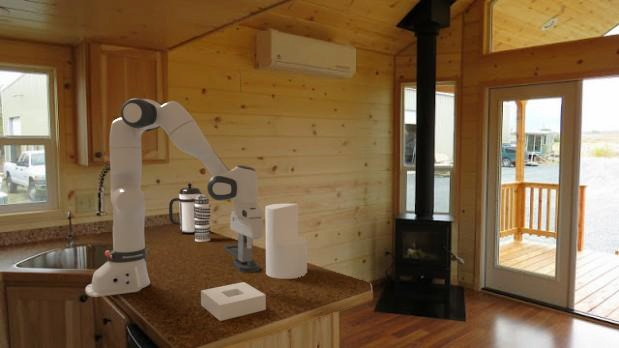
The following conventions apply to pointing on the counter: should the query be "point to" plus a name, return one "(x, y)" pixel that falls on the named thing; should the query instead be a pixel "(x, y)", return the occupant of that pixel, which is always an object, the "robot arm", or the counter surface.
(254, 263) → the zipper pull
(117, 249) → the robot arm
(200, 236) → the decorative candle
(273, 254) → the cylinder
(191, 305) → the counter surface
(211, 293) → the well block
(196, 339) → the counter surface
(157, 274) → the counter surface
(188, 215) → the coffee press
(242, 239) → the metal bar
